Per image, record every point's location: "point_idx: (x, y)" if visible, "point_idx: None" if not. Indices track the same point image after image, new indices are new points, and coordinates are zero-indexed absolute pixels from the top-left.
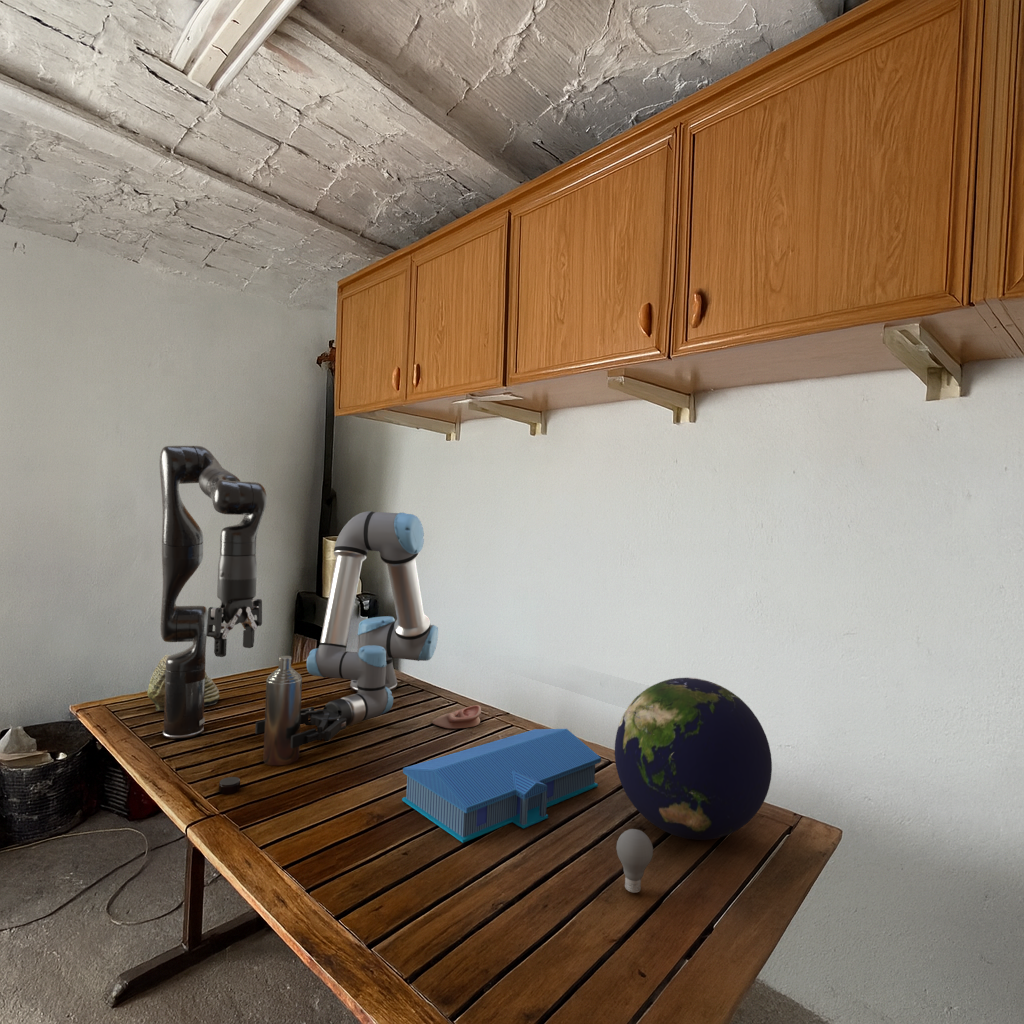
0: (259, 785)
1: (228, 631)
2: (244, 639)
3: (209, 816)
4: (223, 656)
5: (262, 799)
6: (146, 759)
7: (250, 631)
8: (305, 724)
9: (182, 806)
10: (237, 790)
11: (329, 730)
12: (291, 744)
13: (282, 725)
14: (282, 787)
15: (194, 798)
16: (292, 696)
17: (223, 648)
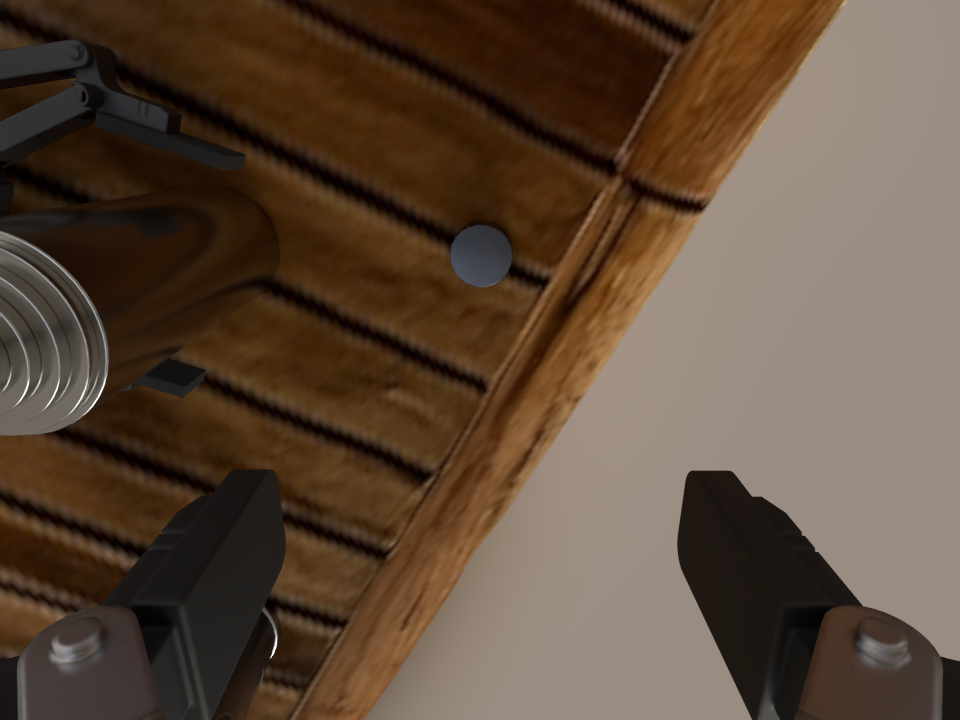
0: (418, 183)
1: (817, 698)
2: (255, 603)
3: (641, 190)
4: (720, 472)
5: (497, 105)
6: (408, 584)
7: (187, 623)
8: None
9: (610, 305)
10: (480, 221)
11: (67, 42)
12: (238, 163)
13: (199, 233)
14: (400, 97)
15: (559, 309)
16: (79, 223)
17: (770, 524)
